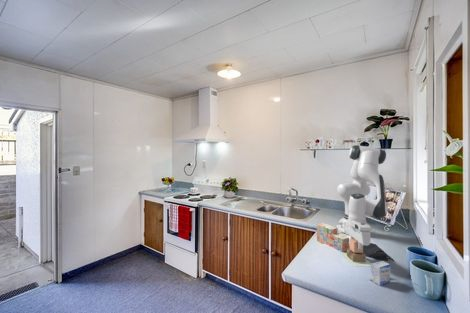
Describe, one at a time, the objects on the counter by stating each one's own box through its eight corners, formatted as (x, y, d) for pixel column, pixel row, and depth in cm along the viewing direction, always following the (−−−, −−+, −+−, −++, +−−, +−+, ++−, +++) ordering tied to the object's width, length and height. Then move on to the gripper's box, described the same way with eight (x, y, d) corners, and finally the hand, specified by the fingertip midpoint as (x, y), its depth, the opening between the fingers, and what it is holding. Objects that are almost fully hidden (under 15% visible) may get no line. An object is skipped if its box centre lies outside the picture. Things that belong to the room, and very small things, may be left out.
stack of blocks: (349, 252, 136) (349, 233, 136) (342, 254, 134) (342, 234, 134) (323, 239, 156) (323, 222, 156) (316, 240, 154) (316, 223, 153)
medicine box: (379, 285, 102) (380, 267, 102) (370, 280, 106) (370, 263, 106) (390, 282, 106) (390, 264, 105) (380, 277, 110) (381, 260, 109)
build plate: (339, 253, 134) (339, 252, 134) (358, 254, 134) (358, 252, 134) (352, 267, 118) (352, 265, 118) (375, 268, 118) (375, 266, 118)
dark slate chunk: (378, 247, 145) (379, 240, 145) (396, 264, 123) (396, 256, 123) (353, 245, 148) (353, 238, 148) (366, 261, 126) (366, 253, 126)
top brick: (349, 248, 128) (349, 238, 128) (358, 248, 128) (358, 238, 128) (354, 252, 123) (354, 242, 123) (362, 252, 123) (363, 242, 123)
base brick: (346, 255, 130) (347, 249, 129) (358, 256, 129) (358, 249, 129) (353, 261, 123) (353, 254, 122) (365, 262, 122) (365, 254, 122)
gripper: (342, 217, 136) (342, 238, 136) (361, 228, 115) (360, 254, 116) (352, 217, 136) (352, 239, 136) (373, 229, 115) (372, 254, 116)
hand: (356, 246), depth 126 cm, fingers open, 5 cm apart
